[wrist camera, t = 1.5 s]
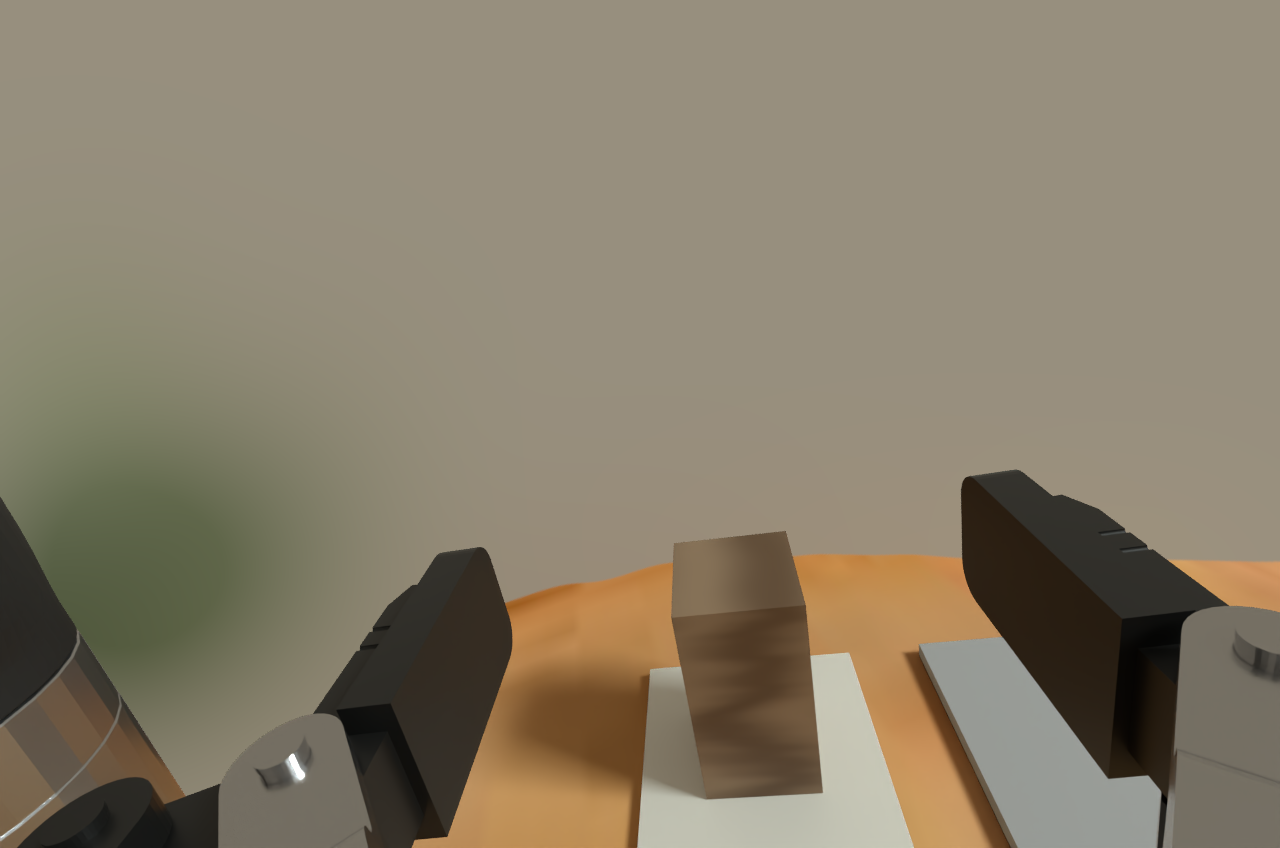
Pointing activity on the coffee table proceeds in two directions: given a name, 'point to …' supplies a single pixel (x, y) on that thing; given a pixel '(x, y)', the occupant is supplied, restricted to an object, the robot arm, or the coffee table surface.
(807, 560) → the coffee table surface
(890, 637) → the coffee table surface
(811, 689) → the walnut block
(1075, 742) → the grey mat
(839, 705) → the white tile
